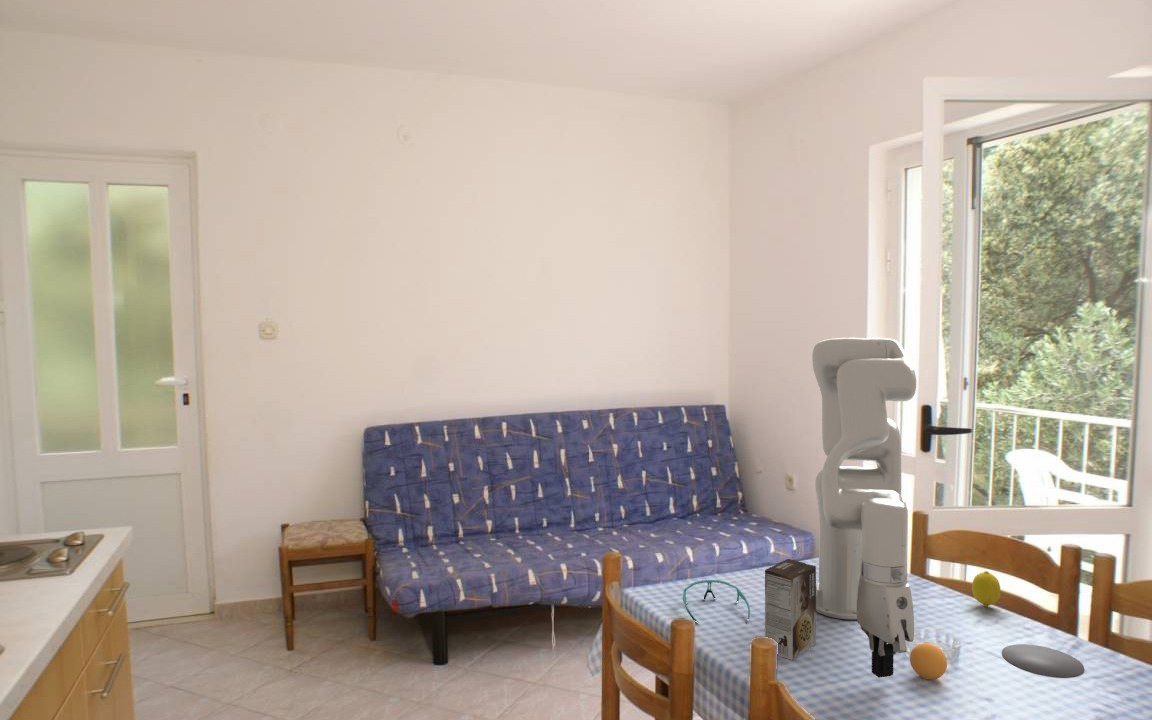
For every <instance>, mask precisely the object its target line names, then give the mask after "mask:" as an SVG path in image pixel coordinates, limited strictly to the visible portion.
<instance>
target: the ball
mask: <svg viewBox="0 0 1152 720" xmlns="http://www.w3.org/2000/svg"><path fill="white" fill-rule="evenodd" d="M909 664H910V666H911V668H912V670H913V671H914V672H915V673H916V674H917V675H918V676H919V677H921V678H923V679H926V680H937V679H939V678H941V677H942V676H943V675H944V674H945V673H946V670H947V668H948V660H947V657H946V655H945V653H944V652H943V650H942V649H941V648H939V647H938V646H936V645H935V644H933V643H927V642H925V643H924V642H922V643H919V644H917V645H915V646H914V647H913V648H912V650H911V651H910V654H909Z"/></svg>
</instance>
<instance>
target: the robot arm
mask: <svg viewBox="0 0 1152 720" xmlns="http://www.w3.org/2000/svg"><path fill="white" fill-rule="evenodd" d="M811 357H812V358H811V359H812V368H813V373H814V377H815V379H816V382H817V385H818V387H819V391H820V394H821V403H822V404H821V407H822V408H821V410H822V411H821V413H822V415H821V416H822V417H821V418H822V419H821V420H822V423H821V426H822V427H821V429H822V430H821V434H822V435H821V438H822V439H821V440H822V448H823V452H824V455H826V458H825V460H824V464H823V467H822V469H821V470H819V472H818V473H817V475H816V476H815V480H814V481H815V482H814V483H815V484H814V485H815V493H816V501H817V506H818V520H819V521H818V525H819V526H818V529H819V530H818V537H819V539H818V541H819V542H818V582H817V583H816V613H819V614H820V615H823V616H825V617H830V618H833V619H839V620H856V621H857V623H858V625H859V626H860V629H861V631H862V632H863V633H865V634H866V636H867V639H868V644H869V646H868V647H869V649H870V650H871V674H873V676H874V675H875V676H876V678H885V677H886V678H887V677H892V676H893V675H894V656H895V655H896V654H902V653H903V654H904V653H907V644H906V642H913V641H914V640H915V614H914V613H915V612H914V604H913V596H912V595H913V594H912V590H911V587H910V584H909V583H907V579H908V545H909V544H908V543H909V542H908V539H909V537H908V535H909V533H908V532H909V510H908V508H907V502H906V501H905V499H903V497H902V439H901V433H900V429H899V428H898V425H897V424H896V422H895V421H894V420H892V419H890V418H888V413H887V412H888V411H887V403H886V402H908V401H911V400H912V399H913V398H914V396H915V393H916V391H917V378H916V377H917V375H916V371H915V368H914V365H913V363H912V361H911V359H910V358H909V355H908V354H907V352H906V351H905V350H904V348H903V347H902V345H901V344H900V343H899V341H897V340H895V339H892V338H886V337H884V338H883V337H876V338H875V337H872V338H871V337H867V338H865V337H861V338H860V337H848V338H847V337H839V338H836V337H835V338H828V339H824V340H820V341H817V343H816V344H815V345H814V347H813V349H812V356H811ZM844 461H848V462H849V461H853V462H857V461H859V462H874V463H875V464H876V466H850V465H849V466H845V465H844V466H843V465H842V464H843V462H844ZM841 465H842V466H841Z"/></svg>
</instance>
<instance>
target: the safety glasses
mask: <svg viewBox="0 0 1152 720" xmlns="http://www.w3.org/2000/svg"><path fill="white" fill-rule="evenodd" d="M702 583H703V584H705V583H706V584H707V588H706V591H705V593H704V596H703V597H704V599H705V600H706V599H707V596H708V594H710V593H711V595H712V598H713V599H714V598H716V596H715V594H714V592H713V590H712V583H718V584H723V585H728V586H729V587H731V588H734V589H735V590H736V596H737V597H736V602H737V601H738V602H739V601H740V598H741V599H742V600H743V601H744V602H745V604H746V606H747V610H748V611H747V612H748V613H747V614H748V615H747V619H749V620H750V617H751V615H750V614H751V607H750V605H749V602H748V600H747V598H746V596H745V595H744V594H743V592H742V591H741V590H740V589H739V588H738V586H736V585H733V584H731V583H730V582H727V581H724V580H719V579H704V580H703V579H702V580H698V581H694V582H692V583H691V584H690V585H688V586H686V587H685V588H684V589H683V592H682V593H683V594H682V601H683V604H684V607H685V610H686V611H687V613H688V615H689V616H690V618H691V619H692V620H693V621H694V620H695V621H697V622H698V620H697V619H696V618H695V617H694V615H693V614H692V613H691V611H690V609H689V607H688V605H686V602H687V591H688V589H689V588H692V587H693V586H696V585H699V584H702ZM716 599H717V598H716ZM747 619H746V620H747ZM695 621H694V622H695Z"/></svg>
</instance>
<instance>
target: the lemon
mask: <svg viewBox="0 0 1152 720" xmlns="http://www.w3.org/2000/svg"><path fill="white" fill-rule="evenodd" d="M971 591H972V592H971V593H972V595H973V598H974V599H975V600H976V601H977V602H978V603H980V604H981V605H983V606H984V607H986V608H989V606H991V605H995V604H996V603H997V602H998V601H999V599H1000V597H1001V585H1000V582H999V579H998V578H997V577H996V576H995V575H994V574H992V573H990V572H989V571H988V570H985V571H983V572H980V573H977V575H975V576H974V578H973V580H972V584H971Z"/></svg>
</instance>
